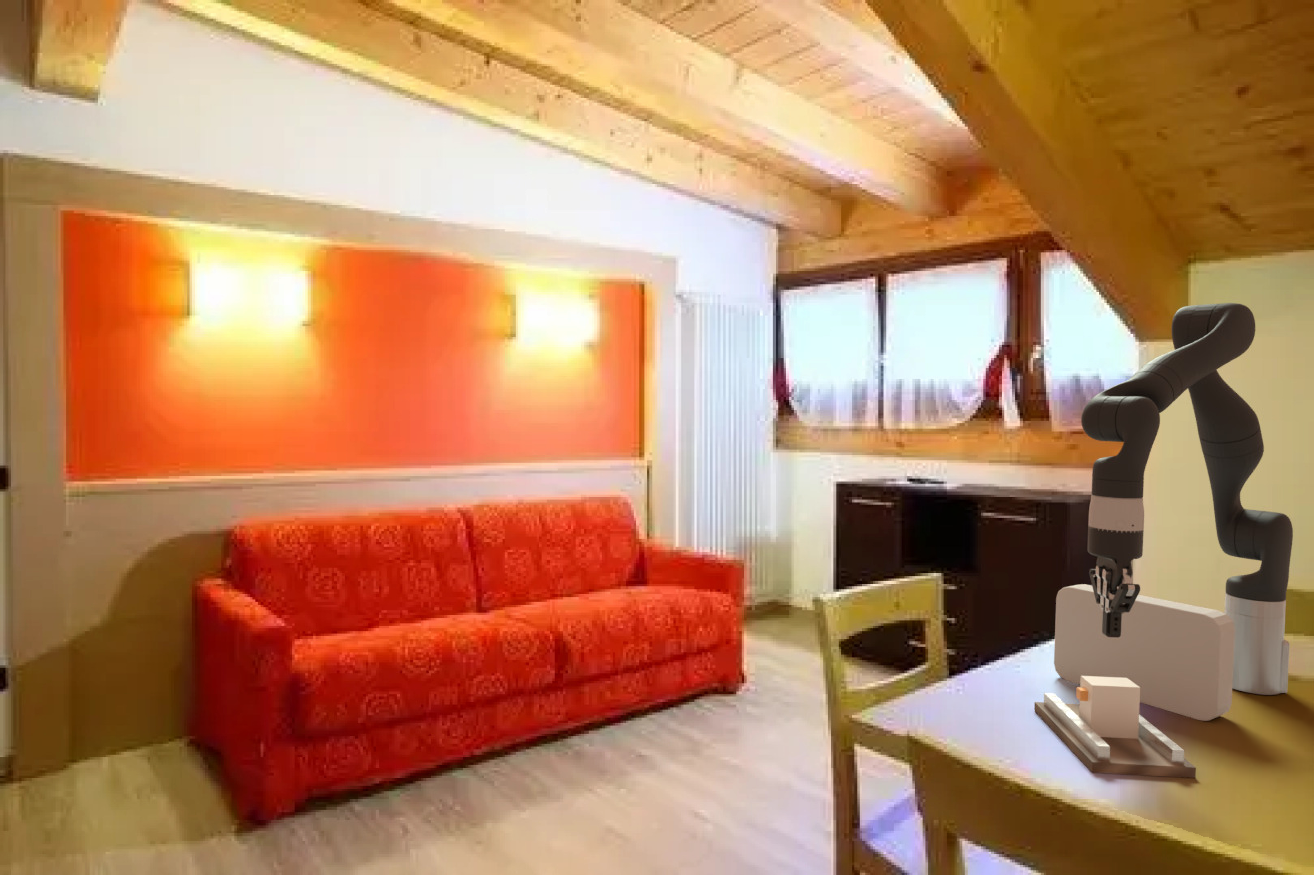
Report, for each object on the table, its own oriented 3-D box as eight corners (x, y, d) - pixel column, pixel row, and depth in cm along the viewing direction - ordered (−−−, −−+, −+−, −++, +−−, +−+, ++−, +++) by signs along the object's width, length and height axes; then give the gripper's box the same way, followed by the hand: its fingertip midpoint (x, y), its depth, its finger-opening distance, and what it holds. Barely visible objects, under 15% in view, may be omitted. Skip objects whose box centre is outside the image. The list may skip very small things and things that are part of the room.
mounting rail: (1115, 707, 142) (1116, 696, 142) (1183, 764, 120) (1184, 750, 120) (1043, 704, 143) (1044, 692, 143) (1097, 759, 121) (1098, 745, 121)
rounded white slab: (1237, 716, 143) (1242, 611, 142) (1216, 725, 139) (1221, 617, 138) (1075, 670, 167) (1078, 580, 166) (1053, 676, 163) (1056, 584, 162)
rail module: (1125, 727, 133) (1126, 677, 133) (1138, 738, 129) (1140, 687, 129) (1071, 724, 134) (1073, 675, 134) (1082, 735, 130) (1084, 684, 129)
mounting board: (1120, 714, 143) (1120, 706, 143) (1195, 778, 119) (1195, 767, 119) (1034, 710, 144) (1034, 702, 144) (1091, 772, 120) (1092, 762, 120)
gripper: (1162, 532, 123) (1157, 649, 124) (1122, 520, 136) (1117, 625, 137) (1108, 531, 124) (1104, 647, 125) (1073, 518, 137) (1069, 623, 138)
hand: (1111, 635), depth 131 cm, fingers closed
